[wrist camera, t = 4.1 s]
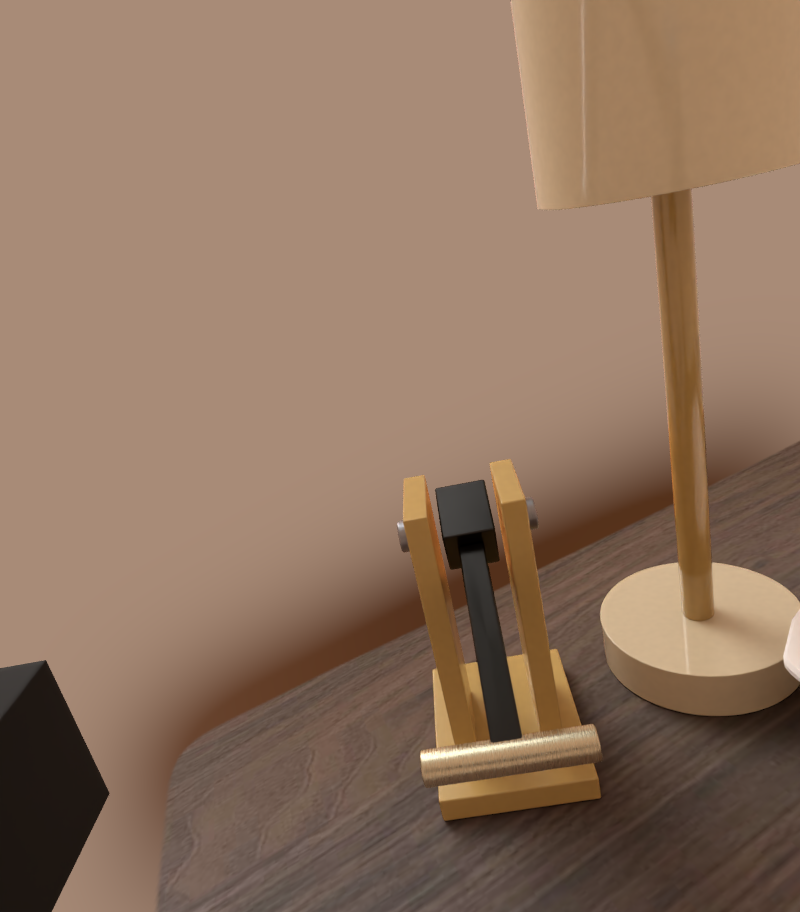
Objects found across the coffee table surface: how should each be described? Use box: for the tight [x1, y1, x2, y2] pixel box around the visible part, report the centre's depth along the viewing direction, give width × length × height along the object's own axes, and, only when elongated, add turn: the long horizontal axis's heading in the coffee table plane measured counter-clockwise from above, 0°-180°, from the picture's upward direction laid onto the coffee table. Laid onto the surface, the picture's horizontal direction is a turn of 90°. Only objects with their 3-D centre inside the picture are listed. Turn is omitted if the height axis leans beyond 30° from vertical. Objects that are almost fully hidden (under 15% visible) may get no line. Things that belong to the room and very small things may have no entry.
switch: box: [420, 480, 603, 788], centre depth 27 cm, size 12×6×2 cm, turn 179°
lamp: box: [510, 0, 800, 716], centre depth 32 cm, size 11×11×32 cm
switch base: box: [397, 459, 601, 821], centre depth 32 cm, size 9×7×14 cm
